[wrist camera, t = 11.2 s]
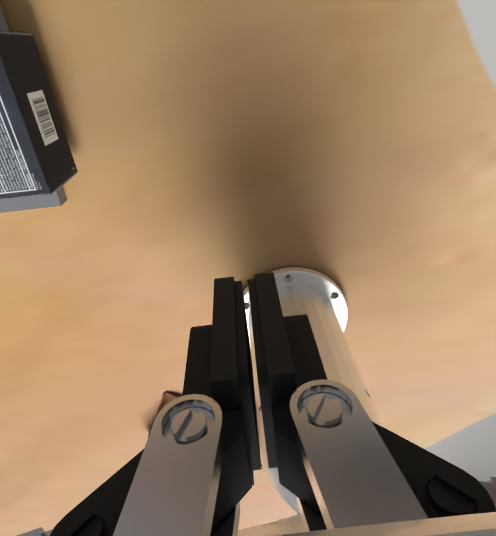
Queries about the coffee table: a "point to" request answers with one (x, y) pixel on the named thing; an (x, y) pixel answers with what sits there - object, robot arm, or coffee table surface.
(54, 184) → the small box
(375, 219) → the coffee table surface
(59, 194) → the rubber pad
